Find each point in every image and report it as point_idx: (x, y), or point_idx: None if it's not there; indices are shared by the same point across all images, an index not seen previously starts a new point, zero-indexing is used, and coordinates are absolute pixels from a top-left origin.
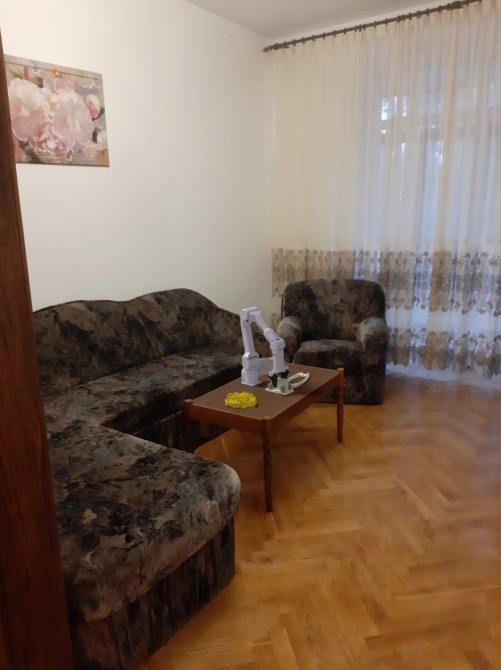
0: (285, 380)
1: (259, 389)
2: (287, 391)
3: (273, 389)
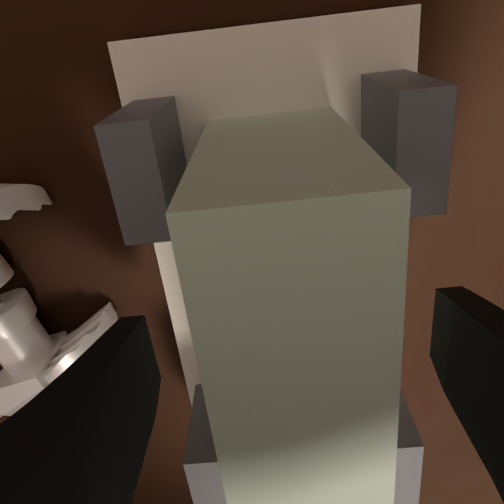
0: (341, 211)
1: None
2: (291, 74)
3: None
